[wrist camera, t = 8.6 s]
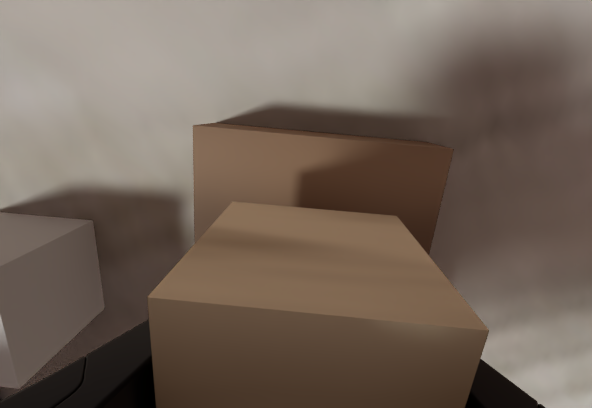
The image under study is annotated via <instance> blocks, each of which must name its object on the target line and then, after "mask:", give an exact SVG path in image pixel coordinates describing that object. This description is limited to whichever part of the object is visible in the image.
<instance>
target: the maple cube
mask: <svg viewBox="0 0 592 408" xmlns="http://www.w3.org/2000/svg"><path fill="white" fill-rule="evenodd" d="M147 302H148V315H149V327H150V339H151V351H152V364H153V376H154V388H155V400H156V408H465V405H466V402H467V399H468V396H469V393H470V389H471V386H472V383H473V380H474V377H475V374H476V370H477V367H478V364H479V361H480V358H481V355H482V351H483V348H484V345H485V342H486V339H487V336H488V332H489V330H488V329H487V327H486V326H485V325H484V324H483V322H482V321H481V320H480V319H479V317H478V316H477V315H476V314H475V312H474V311H473V310H472V309H471V307H470V306H469V305H468V304H467V302H466V301H465V300H464V299H463V298H462V296H461V295H460V294H459V293H458V291H457V290H456V289H455V288H454V286H453V285H452V284H451V283H450V281H449V280H448V279H447V278H446V276H445V275H444V274H443V273H442V271H441V270H440V269H439V268H438V266H437V265H436V264H435V263H434V261H433V260H432V259H431V258H430V257H429V255H428V254H427V253H426V252H425V250H424V249H423V248H422V247H421V245H420V244H419V243H418V242H417V240H416V239H415V238H414V237H413V235H412V234H411V233H410V232H409V230H408V229H407V228H406V227H405V225H404V224H403V223H402V222H401V221H400V219H399V218H398V217H397V216H392V215H381V214H369V213H358V212H346V211H335V210H323V209H312V208H301V207H289V206H278V205H266V204H255V203H243V202H232V203H231V204H230V205H229V206H228V207H227V208H226V209H225V211H224V212H223V213H222V214H221V215H220V216H219V217H218V218H217V220H216V221H215V222H214V223H213V224H212V225H211V226H210V227H209V228H208V230H207V231H206V232H205V233H204V234H203V235H202V236H201V237H200V239H199V240H198V241H197V242H196V243H195V244H194V245H193V246H192V247H191V249H190V250H189V251H188V252H187V253H186V254H185V255H184V256H183V258H182V259H181V260H180V261H179V262H178V263H177V264H176V265H175V266H174V268H173V269H172V270H171V271H170V272H169V273H168V274H167V275H166V277H165V278H164V279H163V280H162V281H161V282H160V283H159V284H158V286H157V287H156V288H155V289H154V290H153V291H152V292H151V293H150V294H149V296H148V297H147Z"/></svg>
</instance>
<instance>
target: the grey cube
mask: <svg viewBox="0 0 592 408" xmlns="http://www.w3.org/2000/svg"><path fill="white" fill-rule="evenodd" d="M104 308H105V305H104V298H103V290H102V283H101V276H100V268H99V261H98V253H97V246H96V238H95V231H94V223H93V220H83V219H71V218H60V217H49V216H38V215H27V214H15V213H4V212H0V387H7V388H17V389H20V388H21V387H22V386H23V385H24V384H25V383H26V382H27V381H28V380H29V379H30V378H31V377H32V376H33V375H35V374H36V373H37V372H38V371H39V370H40V369H41V368H42V367H43V366H44V365H45V364H46V363H47V362H48V361H49V360H50V359H51V358H53V357H54V356H55V355H56V354H57V353H58V352H59V351H60V350H61V349H62V348H63V347H64V346H65V345H66V344H67V343H68V342H70V341H71V340H72V339H73V338H74V337H75V336H76V335H77V334H78V333H79V332H80V331H81V330H82V329H83V328H84V327H85V326H86V325H88V324H89V323H90V322H91V321H92V320H93V319H94V318H95V317H96V316H97V315H98V314H99V313H100V312H101V311H102V310H103V309H104Z"/></svg>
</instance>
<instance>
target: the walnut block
mask: <svg viewBox="0 0 592 408" xmlns="http://www.w3.org/2000/svg"><path fill="white" fill-rule="evenodd" d="M453 151H454V149H451V148H447V147H444V146H440V145H436V144H432V143H429V142H422V141H410V140H399V139H388V138H377V137H366V136H355V135H344V134H333V133H322V132H311V131H300V130H289V129H278V128H267V127H256V126H245V125H234V124H223V123H210V124H201V125H193V165H194V231H195V243H196V242H197V241H198V240H199V239H200V237H201V236H202V235H203V234H204V233H205V232H206V231H207V230H208V228H209V227H210V226H211V225H212V224H213V223H214V222H215V221H216V220H217V218H218V217H219V216H220V215H221V214H222V213H223V212H224V211H225V209H226V208H227V207H228V206H229V205H230V204H231V203H232V202H243V203H255V204H266V205H278V206H289V207H301V208H312V209H323V210H335V211H346V212H358V213H369V214H381V215H392V216H397V217H398V218H399V219H400V221H401V222H402V223H403V224H404V225H405V227H406V228H407V229H408V230H409V232H410V233H411V234H412V235H413V237H414V238H415V239H416V240H417V242H418V243H419V244H420V245H421V247H422V248H423V249H424V250H425V252H426V253H427V254H428V255H429V252H430V248H431V243H432V239H433V235H434V231H435V227H436V222H437V218H438V214H439V210H440V205H441V201H442V197H443V193H444V189H445V184H446V180H447V176H448V172H449V168H450V163H451V159H452V155H453Z"/></svg>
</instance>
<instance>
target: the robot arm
mask: <svg viewBox="0 0 592 408" xmlns="http://www.w3.org/2000/svg"><path fill="white" fill-rule="evenodd" d="M0 408H156V400H155V388H154V376H153V364H152V351H151V339H150V327H149V320H147V321H145V322H143V323H142V324H140V325H138V326H136V327H135V328H133V329H131V330H129V331H128V332H126V333H124V334H122V335H121V336H119V337H117V338H115V339H114V340H112V341H110V342H108V343H107V344H105V345H103V346H101V347H100V348H98V349H96V350H94V351H93V352H91V353H89V354H88V355H87V357H82V358H80V359H79V360H77V361H75V362H73V363H72V364H70V365H68V366H66V367H65V368H63V369H61V370H59V371H57V372H55V373H54V374H52V375H50V376H48V377H46V378H45V379H43V380H41V381H39V382H37V383H35V384H33V385H32V386H30V387H28V388H26V389H24V390H22V391H20V392H18V393H16V394H14V395H12V396H10V397H8V398H6V399H4V400H2V401H0ZM465 408H545V407H544V406H543V405H541V404H538V403H537V401H536V400H535V399H533V398H532V397H531V396H529V395H528V394H527V393H525V392H524V391H523V390H521V389H520V388H519V387H517V386H516V385H515V384H513V383H512V382H511V381H509V380H508V379H507V378H505V377H504V376H503V375H501V374H500V373H499V372H497V371H496V370H495V369H493V368H492V367H491V366H490V365H488V364H487V363H486V362H484V361H483V360H482V359H480V361H479V364H478V367H477V370H476V374H475V377H474V380H473V383H472V386H471V389H470V393H469V396H468V399H467V402H466V405H465Z"/></svg>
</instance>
